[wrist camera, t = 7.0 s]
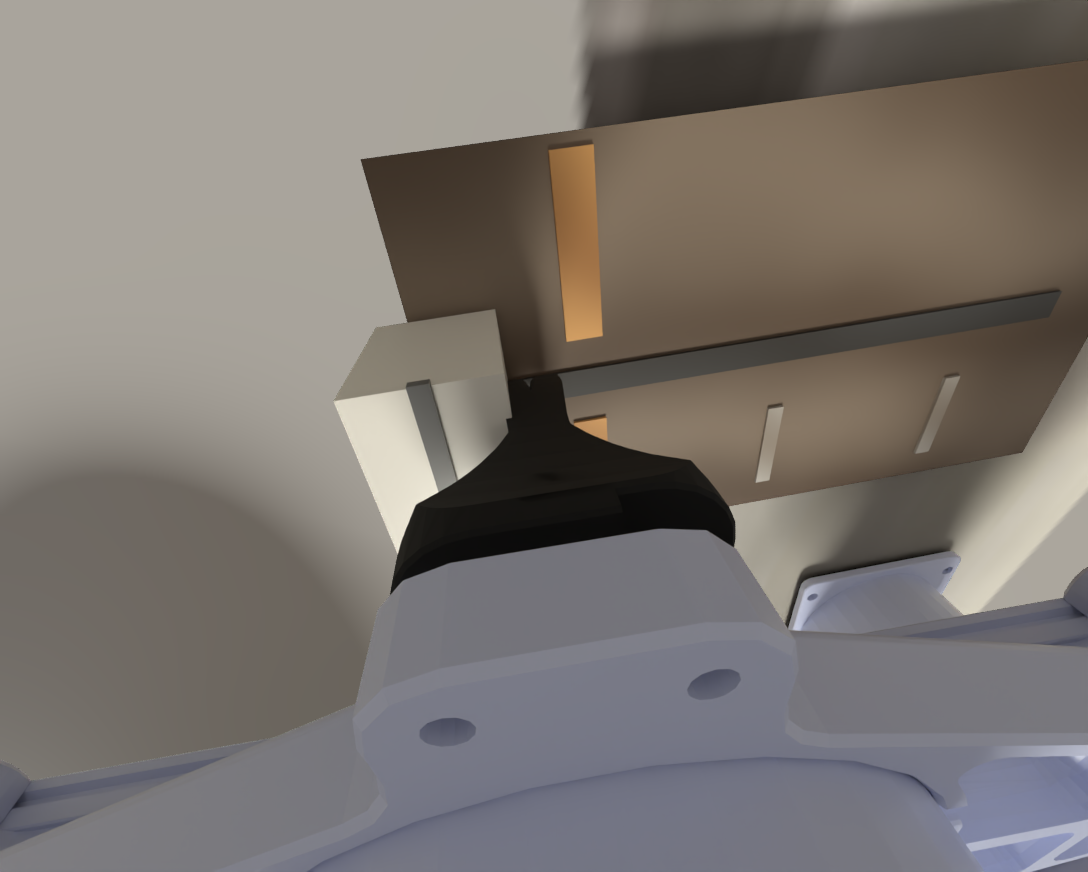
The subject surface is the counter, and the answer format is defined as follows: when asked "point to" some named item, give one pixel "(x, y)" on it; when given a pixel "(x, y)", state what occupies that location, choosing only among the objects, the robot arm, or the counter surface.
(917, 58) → the counter surface
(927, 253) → the fader console
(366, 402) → the fader knob
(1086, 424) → the counter surface
